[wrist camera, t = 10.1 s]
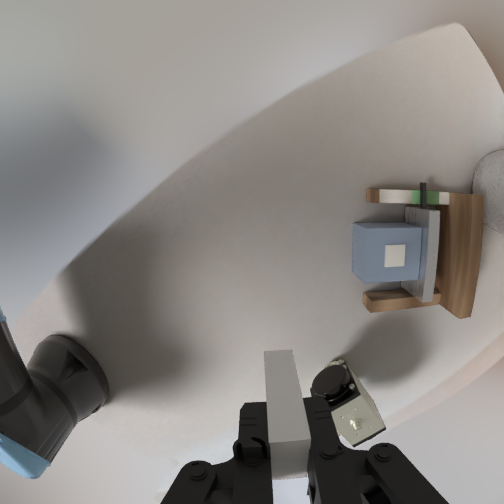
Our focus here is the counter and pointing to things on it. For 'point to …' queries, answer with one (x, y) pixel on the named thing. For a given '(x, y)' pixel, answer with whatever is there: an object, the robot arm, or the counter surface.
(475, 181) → the planter
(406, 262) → the blue block
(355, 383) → the pneumatic valve
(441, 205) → the gauge frame
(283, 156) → the counter surface
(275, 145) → the counter surface
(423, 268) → the grey flat panel
